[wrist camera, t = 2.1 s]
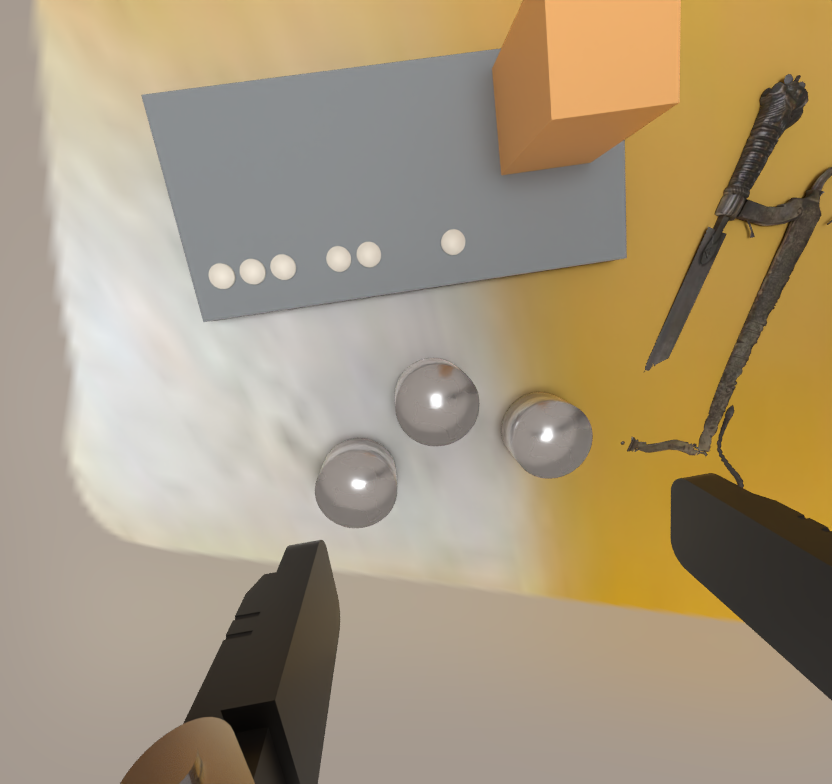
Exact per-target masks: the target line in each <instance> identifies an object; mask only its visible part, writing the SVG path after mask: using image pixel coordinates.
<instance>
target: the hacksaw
mask: <svg viewBox="0 0 832 784" xmlns="http://www.w3.org/2000/svg"><path fill="white" fill-rule="evenodd" d="M800 77H801V76H800V75H798V76H796V78H795V80H794V81H793V77H792V75H791V74H788V75H786V76H785V79H784V82H785V84H784V83H781V82H779V83H777V84H775V85H774V86H773V87H772V89H771V88H768V89H766V90H765V91H764V92H763V94H762V96H761V98H760V105H761V107H760V111H759V113H758V116H757V118H756V121H755V123H754V126H753V128H752V130H751V136H750V137H749V138H748V139H747V143H746V145H745V147H744V149H743V152H742V154H741V157H740V159H739V162H738V164H737V166H736V168H735V171H734V173H733V175H732V177H731V179H730V182H729V185H728V187H727V188H726V189H725V190H724V196H723V197H722V199H721V201H720V203H719V205H718V207H717V210H716V212H715V215H717V216H719V217H718V220H717V222H716V224H715V226H714V228H713V229H712V228H710V227H708V230H706V234H705V235H704V238H703V240H702V242H701V245H700V246H699V249H698V250H697V253H696V256H695V257H694V260H693V261H692V264H691V267H690V268H689V271H688V272H687V275H686V277H685V279H684V282H683V283H682V286H681V288H680V290H679V293H678V294H677V297H676V300H675V301H674V304H673V305H672V308H671V311H670V312H669V315H668V317H667V319H666V322H665V323H664V326H663V329H662V330H661V332H660V335H659V336H658V339H657V342H656V343H655V346H654V349H653V350H652V352H651V354H650V355H651V356H649V359H648V360H647V361H648V362H647V363H646V366H645V370H647V371H649V370H650V369H651V367H652V365H653V364H654V366H655V365H656V364H658V363H660V362H662V361H664V360H666V359H668V358H669V356H670V354H671V352H672V350H673V348H674V346H675V343H676V341H677V339H678V337H679V335H680V333H681V331H682V328H683V326H684V324H685V322H686V320H687V318H688V316H689V313H690V311H691V309H692V307H693V305H694V303H695V301H696V298H697V296H698V294H699V292H700V290H701V288H702V285H703V283H704V281H705V279H706V277H707V275H708V273H709V270H710V268H711V266H712V264H713V262H714V260H715V258H716V255H717V253H718V251H719V249H720V247H721V245H722V243H723V240H724V238H725V236H726V234H725V233H722V232H723V229H724V227H725V226H726V224H727V222H728V221H729V220H730V221H732V220H734V219H735V218H737V219H740V220H745V221H747V222H748V224H749V227H750V230H751V236H750V238H752V237H755V236H754V233H753V230H752V227H751V224H750V222H751V223H754V224H758V225H762V226H769V225H777V224H784V223H787V222H790V223H789V226H788V228H787V231H786V233H785V236H784V239H783V241H782V243H781V245H780V247H779V249H778V251H777V253H776V255H775V257H774V259H773V261H772V263H771V266H770V268H769V271H768V273H767V276H766V277H765V278H764V280H763V283H762V286H761V288H760V290H759V291H758V293H757V297H756V299H755V302H754V303H753V305H752V308H751V310H750V312H749V314H748V316H747V319H746V321H745V323H744V326H743V328H742V330H741V333H740V335H739V337H738V339H737V343H736V344H735V346H734V349H733V351H732V353H731V355H730V358H729V360H728V362H727V365H726V367H725V370H724V372H723V375H722V377H721V380H720V382H719V385H718V387H717V390H716V393H715V395H714V398H713V401H712V404H711V406H710V410H709V416H708V418H707V419H706V421H705V424H704V430H703V432H702V434H701V436H700V439H699V446H698V447H696V444H693V445H692V443H691V444H688V442H683V441H679V440H670V441H665V442H660V443H656V444H648V445H646V442H638V440H635V438H634V437H632V439H631V444H630V446H629V448H628V450H627V451H632V452H633V450H634V449H635V452H636V451H638V449H639V450H640V451H643V452H648V453H651V452H657V451H663V450H669V449H670V450H679V451H682V452H685V453H687V454H689V455H695V454H696V453H698V452H699V453H698V454H700V453H701V454H704V455H705V456H707V453H706V452H709V451H710V450H709V449H710V445H711V438H712V436H713V435H714V434H715V433H716V431H717V429H718V427H717V426H718V424H719V422H720V420H721V418H722V416H723V413H724V412H725V409H726V407H727V405H728V402H729V400H730V398H731V395H732V393H733V391H734V389H735V385H736V384H737V382H736V379H737V377H738V376H740V375H741V374H742V368H743V367H744V366H745V365H746V362H747V361H748V360H749V356H750V354H751V349H752V347H753V345H754V344H756V343H757V340H758V338H759V336H760V333H761V331H763V327H764V326H766V324H767V320H766V319H767V317H768V315H769V313H770V312H771V311H772V309H774V306H776V305H775V303H777V300H778V299H779V298H780V295H781V292H782V290H783V288H784V286H785V285H786V283H787V281H788V280H789V276H790V275H791V273H792V271H793V269H794V266H795V264H796V262H797V261H798V259H799V257H800V255H801V253H802V252H803V250H804V248H805V246H806V245H807V243H808V241H809V238H810V236H811V234H812V232H813V230H814V228H815V226H816V224H817V222H818V221H819V219H820V216H821V211H820V207H819V202H820V196H821V195H822V194H823V193H824V192H823V191H821V190H822V187H823V185H824V183H825V182H826V181H827V179H828V178H829V177H830V176H831V175H832V167H831V168H829V169H827V170H826V171H825V172H824V173H823V174H822V175H821V176H820V177H819V178H818V179H817V180H816V181H815V183H814V184H813V186H812V187H811V190H807V191H806V196H805V198H802V199H801V198H791V199H790V200H789V201H788V202H787V203H785V204H780V205H777V207H767V206H764V205H761V204H758V203H756V202H753V201H750V200H747V198H748V197H749V194H750V189H751V188H752V187H753V185H754V183H755V181H756V180H757V178H758V176H759V175H760V172H761V171H762V169H763V168H764V166H765V164H766V162H767V160H768V157H769V156H770V154H771V153H772V151H773V149H774V147H775V145H776V144H777V142H778V139H779V138H780V136H781V135H782V133H783V132H784V130H786V129H787V128H789V127H790V126H792V125H793V124H794V123H795V122H797V121H798V119H799V118H800V117H801V115H802V113H803V107H804V106H805V104H806V103H807V102H808V92H807V91H806V89H805V83H804V82H803V81H802V82H800V83H799V82H798V81H799V79H800ZM831 222H832V220H831V221H830V222H829V223H827V225H828V224H830V223H831ZM644 372H645V371H644ZM733 413H734V407H733V405H732V406H730V407H729V408H728V410H727V412H726V414H725V419H724V421H723V425H722V427H721V431H720V434H719V440H718V441H717V445H718V448H717V451H718V452H719V456H720V457H721V458H722V459H721V461H723V462H724V464H725V466H726V467H727V469H728V470H729V471H730V473H731V474H732V475H733V476H734V477H735V479H736V481H737V484H738V486H740V487H741V488H743V487H744V485H743V480H742V479H741V478H740V475H739V474H738V473H737V472H736V471H735V469H734V468H732V466H731V465H730V464H729V463H728V461H727V460H726V459H725V457H724V455H722V450H721V449H720V448H721V441H722V436H723V434H724V431H725V429H726V427H727V424H728V422H729V420H730V419H731V417H732V416H733ZM624 443H625V442H624V441H622V442H621V444H622V445H623V444H624ZM694 446H695V447H694ZM693 447H694V448H693ZM636 448H637V449H636ZM695 448H696V449H698V450H699V451H697V450H694V449H695ZM700 451H704V452H700ZM698 454H697V455H698Z"/></svg>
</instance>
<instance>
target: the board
mask: <svg viewBox="0 0 832 784" xmlns="http://www.w3.org/2000/svg"><path fill="white" fill-rule="evenodd" d="M500 50H501V49H493V50H485V51H478V52H470V53H462V54H454V55H447V56H439V57H431V58H423V59H416V60H408V61H400V62H392V63H385V64H377V65H369V66H361V67H354V68H346V69H338V70H330V71H323V72H315V73H307V74H299V75H292V76H284V77H276V78H268V79H261V80H253V81H245V82H238V83H230V84H222V85H214V86H207V87H199V88H191V89H183V90H176V91H168V92H160V93H152V94H145V95H142V99H143V103H144V106H145V110H146V114H147V117H148V121H149V125H150V128H151V132H152V136H153V139H154V143H155V147H156V150H157V154H158V158H159V161H160V165H161V169H162V172H163V176H164V179H165V183H166V187H167V190H168V194H169V198H170V201H171V205H172V209H173V212H174V216H175V220H176V223H177V227H178V231H179V234H180V238H181V242H182V245H183V249H184V253H185V256H186V260H187V263H188V267H189V271H190V274H191V278H192V282H193V285H194V289H195V293H196V296H197V300H198V304H199V307H200V311H201V315H202V318H203V322H207V321H215V320H222V319H228V318H235V317H241V316H248V315H255V314H261V313H268V312H275V311H281V310H288V309H294V308H301V307H308V306H314V305H321V304H328V303H334V302H341V301H347V300H354V299H361V298H367V297H374V296H380V295H387V294H394V293H400V292H407V291H414V290H420V289H427V288H433V287H440V286H447V285H453V284H460V283H466V282H473V281H480V280H486V279H493V278H500V277H506V276H513V275H519V274H526V273H533V272H539V271H546V270H553V269H559V268H566V267H572V266H579V265H586V264H592V263H599V262H605V261H612V260H618V259H624V258H627V253H626V195H625V140H623V141H622V142H620V143H619V144H617V145H616V146H614V147H613V148H612V149H610V150H609V151H607V152H606V153H604V154H603V155H601V156H600V157H598V158H597V159H595V160H594V161H592V162H591V163H585V164H578V165H571V166H564V167H557V168H550V169H543V170H536V171H528V172H521V173H514V174H507V175H501V167H500V156H499V144H498V132H497V121H496V109H495V98H494V86H493V74H492V68H493V66H494V63H495V61H496V59H497V57H498V55H499V52H500Z"/></svg>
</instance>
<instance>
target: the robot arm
mask: <svg viewBox="0 0 832 784" xmlns="http://www.w3.org/2000/svg"><path fill="white" fill-rule="evenodd" d="M671 544H672V548H673V551H674V553H675V555H676V557H677V559H678V560H679V562H680V563H681V565H682V566H683V567H684V568H685V569H686V570H687V571H688V572H689V573H690V574H692V575H693V576H694V577H695V578H696V579H697V580H698V581H699V582H700V583H702V584H703V585H704V586H705V587H706V588H707V589H708V590H709V591H710V592H712V593H713V594H714V595H715V596H716V597H717V598H718V599H719V600H720V601H722V602H723V603H724V604H725V605H726V606H727V607H728V608H729V609H730V610H732V611H733V612H734V613H735V614H736V615H737V616H738V617H739V618H741V619H742V620H743V621H744V622H745V623H746V624H747V625H748V626H749V627H751V628H752V629H753V630H754V631H755V632H756V633H758V635H759V636H761V637H762V638H763V639H764V640H765V641H766V642H767V643H768V644H769V645H771V646H772V647H773V648H774V649H775V650H776V651H777V652H778V653H779V654H781V655H782V656H783V657H784V658H785V659H786V660H787V661H788V662H790V663H791V664H792V665H793V666H794V667H795V668H796V669H797V670H799V671H800V672H801V673H802V674H803V675H804V676H805V677H806V678H807V679H809V680H810V681H811V682H812V683H813V684H814V685H815V686H816V687H817V688H818V689H820V690H821V691H822V692H823V693H824V694H825V695H826V696H828V698H830V699H831V700H832V531H829V529H828V527H826V526H824V525H822V524H820V523H818V522H816V521H814V520H812V519H810V518H808V519H806V518H805V517H804V515H803V514H801V513H799V512H797V511H795V510H793V509H791V508H789V507H787V506H785V505H783V504H781V503H779V502H777V501H775V500H772V499H769V498H765V497H762V496H759V495H756V494H753V493H751V492H749V491H747V490H745V489H743V488H741V487H740V486H738V485H736V484H734V483H732V482H730V481H728V480H726V479H724V478H722V477H721V476H719V475H716V474H713V473H709V474H703V475H697V476H691V477H686V478H680V479H677V480H675V481H674V482H673V484H672V487H671ZM339 630H340V609H339V600H338V595H337V591H336V587H335V582H334V578H333V573H332V569H331V565H330V561H329V556H328V552H327V548H326V545H325V543H324V541H323V540H318V541H312V542H307V543H301V544H295V545H289V546H288V547H287V548H286V550H285V553H284V555H283V557H282V560H281V562H280V565H279V567H278V570H277V572H276V573H270V574H265V575H263V576H262V577H261V578H260V579H259V580H258V582H257V583H256V584H255V585H254V586H253V587H252V588H251V589H250V590H249V591H248V592H247V593H246V595H245V597H244V599H243V601H242V603H241V605H240V607H239V609H238V611H237V613H236V615H235V620H234V621H233V622H232V624H231V626H230V628H229V630H228V632H227V634H226V640H224V641H223V642H222V645H221V647H220V649H219V651H218V653H217V655H216V657H215V659H214V661H213V663H212V665H211V667H210V670H209V671H208V674H207V676H206V678H205V680H204V682H203V684H202V686H201V688H200V690H199V692H198V694H197V696H196V698H195V701H194V703H193V705H192V707H191V709H190V711H189V713H188V715H187V717H186V719H185V721H184V723H183V724H182V725H180V726H178V727H176V728H175V729H173V730H172V731H170V732H168V733H167V734H165V735H164V736H163V737H161V738H160V739H159V740H157V741H156V742H155V743H154V744H153V745H152V746H151V747H149V748H148V749H147V750H146V751H145V752H144V754H142V755H141V756H140V757H139V759H138V760H137V761H136V762H135V763H134V764H133V766H132V767H131V768H130V769H129V771H128V772H127V773H126V775H125V776H124V778H123V779H122V781H121V782H120V784H318V777H319V770H320V763H321V756H322V749H323V742H324V735H325V728H326V721H327V714H328V707H329V700H330V693H331V686H332V680H333V672H334V665H335V659H336V651H337V645H338V638H339Z"/></svg>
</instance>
